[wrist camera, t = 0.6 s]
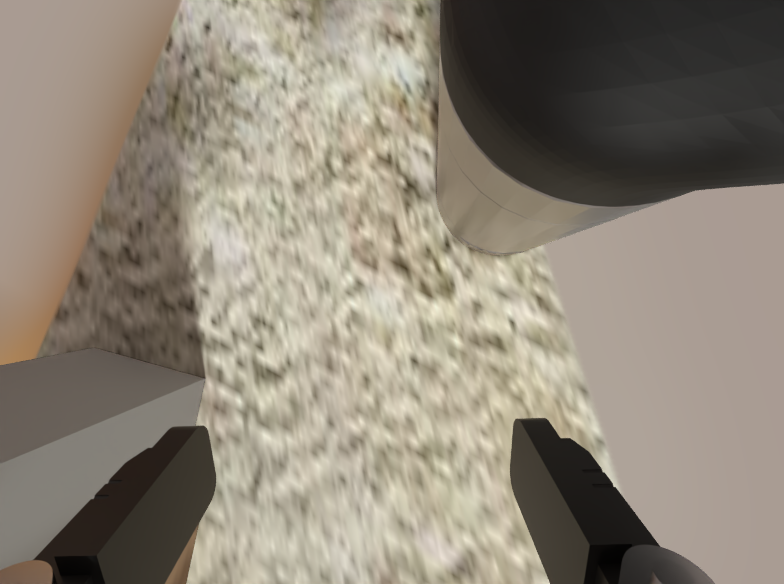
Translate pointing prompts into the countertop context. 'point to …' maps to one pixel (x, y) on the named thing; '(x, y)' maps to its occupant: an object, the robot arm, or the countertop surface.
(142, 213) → the countertop surface
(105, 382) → the grey block
